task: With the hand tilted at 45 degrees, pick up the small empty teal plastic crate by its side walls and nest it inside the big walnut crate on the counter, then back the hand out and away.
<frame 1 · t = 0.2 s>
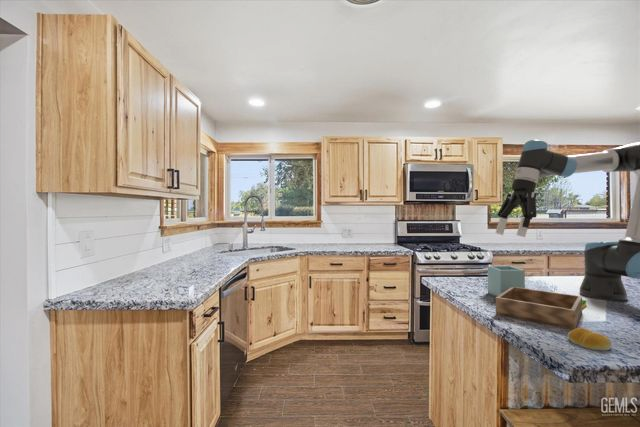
hand: (509, 235, 122), 27 cm above the countertop, tool tilted 15°, fingers open, 13 cm apart
small teal crate: (505, 296, 138), on the countertop
big walnut crate: (539, 313, 114), on the countertop
dish sponge: (561, 304, 127), on the countertop
bread roll: (588, 345, 89), on the countertop
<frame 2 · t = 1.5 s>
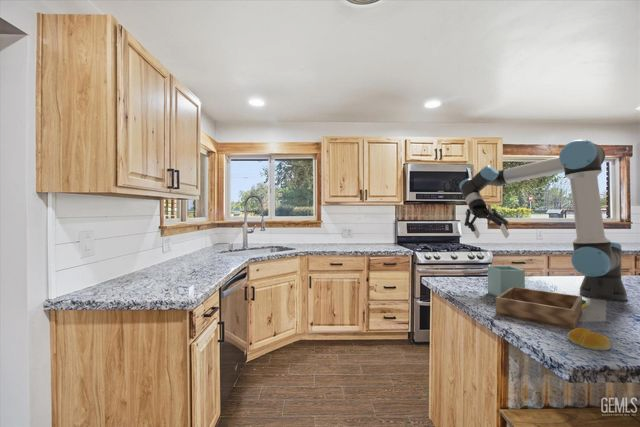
hand: (492, 236, 147), 25 cm above the countertop, tool tilted 45°, fingers open, 13 cm apart
nothing on the countertop moved.
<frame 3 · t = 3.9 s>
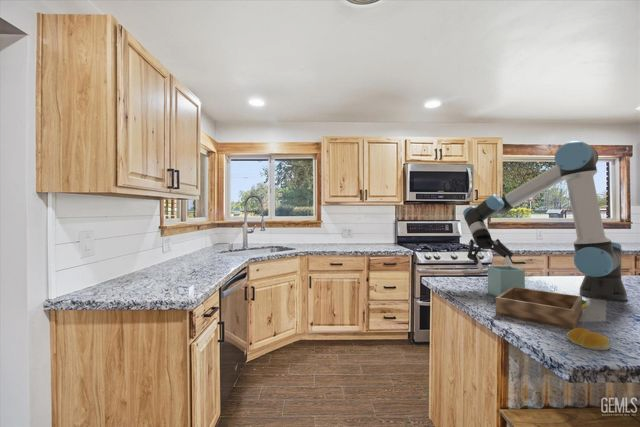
hand: (496, 269, 143), 10 cm above the countertop, tool tilted 45°, fingers open, 13 cm apart
nothing on the countertop moved.
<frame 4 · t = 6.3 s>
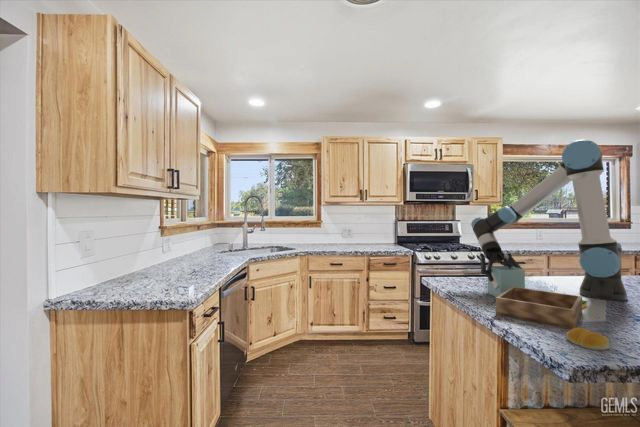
hand: (509, 287, 135), 4 cm above the countertop, tool tilted 45°, fingers closed on small teal crate, 10 cm apart
small teal crate: (505, 296, 138), on the countertop, touching gripper
everything else where it was.
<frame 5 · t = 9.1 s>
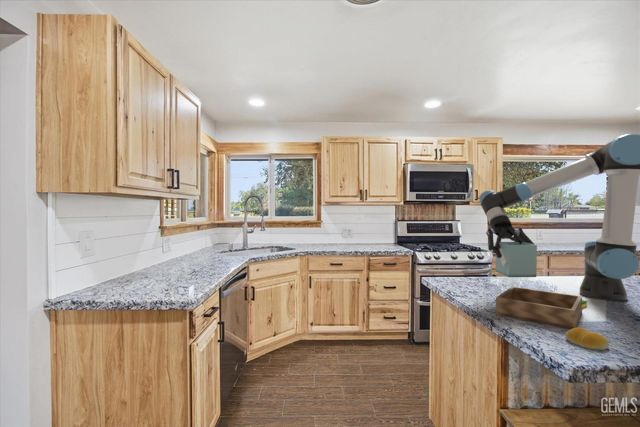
hand: (519, 264, 122), 16 cm above the countertop, tool tilted 45°, fingers closed on small teal crate, 10 cm apart
small teal crate: (515, 274, 126), point 12 cm above the countertop, touching gripper
everything else where it was.
when the fingers open (7 cm above the countertop, at t = 12.2 s): small teal crate drops 1 cm, resting on big walnut crate.
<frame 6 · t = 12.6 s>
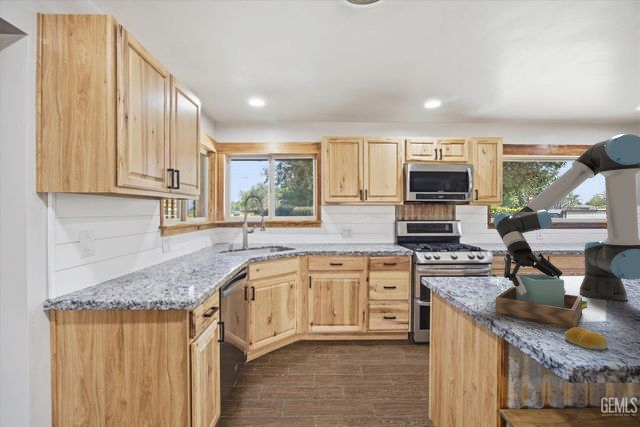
hand: (543, 293, 112), 8 cm above the countertop, tool tilted 45°, fingers open, 13 cm apart
small teal crate: (539, 310, 115), point 1 cm above the countertop, touching big walnut crate
everything else where it was.
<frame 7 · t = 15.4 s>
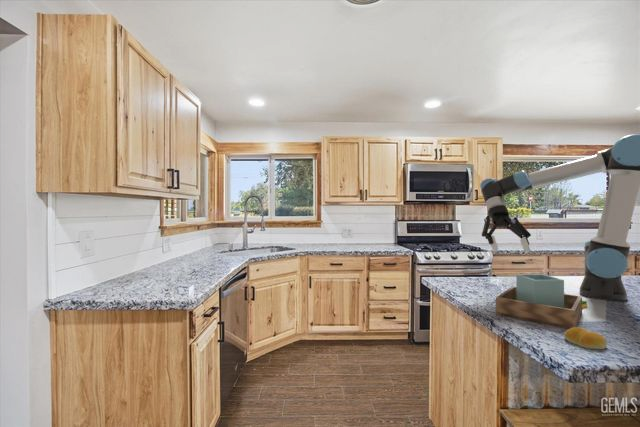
hand: (512, 251, 133), 20 cm above the countertop, tool tilted 35°, fingers open, 13 cm apart
nothing on the countertop moved.
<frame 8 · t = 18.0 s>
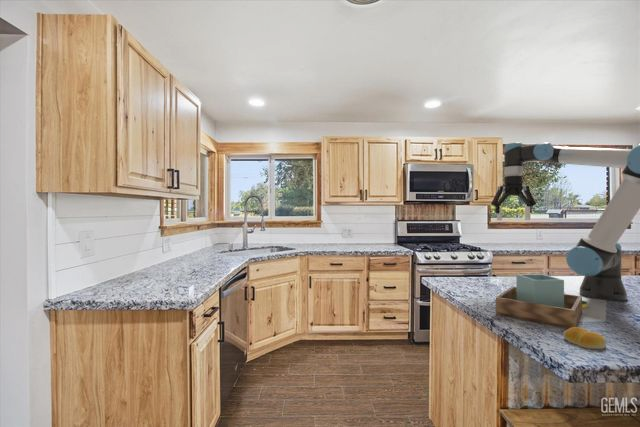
hand: (513, 220, 155), 32 cm above the countertop, tool pointing down, fingers open, 13 cm apart
at the end: small teal crate inside the target area on the big walnut crate (0.1 cm from its centre), point 1.0 cm above the big walnut crate's base; small teal crate tilted 0°; the gripper is holding nothing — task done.
